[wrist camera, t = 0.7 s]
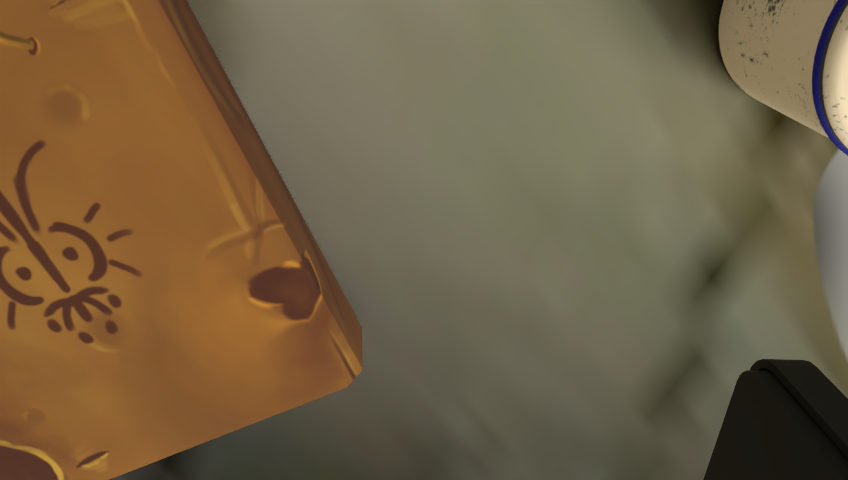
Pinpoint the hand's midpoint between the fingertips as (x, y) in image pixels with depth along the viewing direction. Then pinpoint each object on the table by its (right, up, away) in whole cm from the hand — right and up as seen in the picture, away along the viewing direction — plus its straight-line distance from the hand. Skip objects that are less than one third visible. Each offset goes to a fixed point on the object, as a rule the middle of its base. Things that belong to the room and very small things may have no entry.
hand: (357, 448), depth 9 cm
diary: (-16, +4, +27) cm, 31 cm away
